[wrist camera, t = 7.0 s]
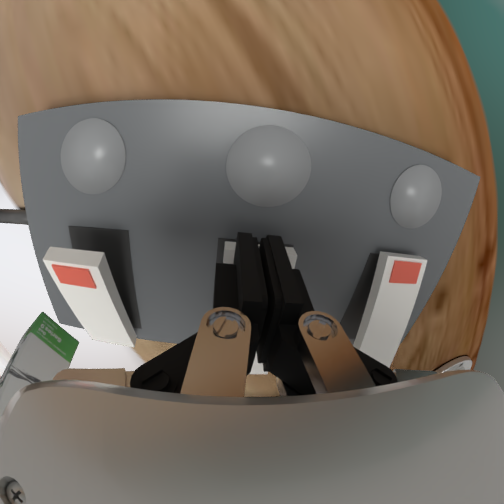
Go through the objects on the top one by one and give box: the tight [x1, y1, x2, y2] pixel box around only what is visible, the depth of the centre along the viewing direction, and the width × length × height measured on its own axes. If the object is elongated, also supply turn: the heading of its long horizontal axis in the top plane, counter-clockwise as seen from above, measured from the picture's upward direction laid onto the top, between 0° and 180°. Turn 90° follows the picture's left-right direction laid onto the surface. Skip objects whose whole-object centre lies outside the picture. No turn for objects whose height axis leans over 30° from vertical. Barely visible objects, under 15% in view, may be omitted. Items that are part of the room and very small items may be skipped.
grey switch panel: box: [0, 100, 480, 345], centre depth 14 cm, size 14×32×3 cm, turn 82°
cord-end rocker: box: [43, 247, 137, 347], centre depth 12 cm, size 8×3×1 cm, turn 172°
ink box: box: [0, 312, 79, 419], centre depth 16 cm, size 9×5×12 cm, turn 124°
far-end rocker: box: [353, 251, 427, 368], centre depth 14 cm, size 8×3×1 cm, turn 172°
